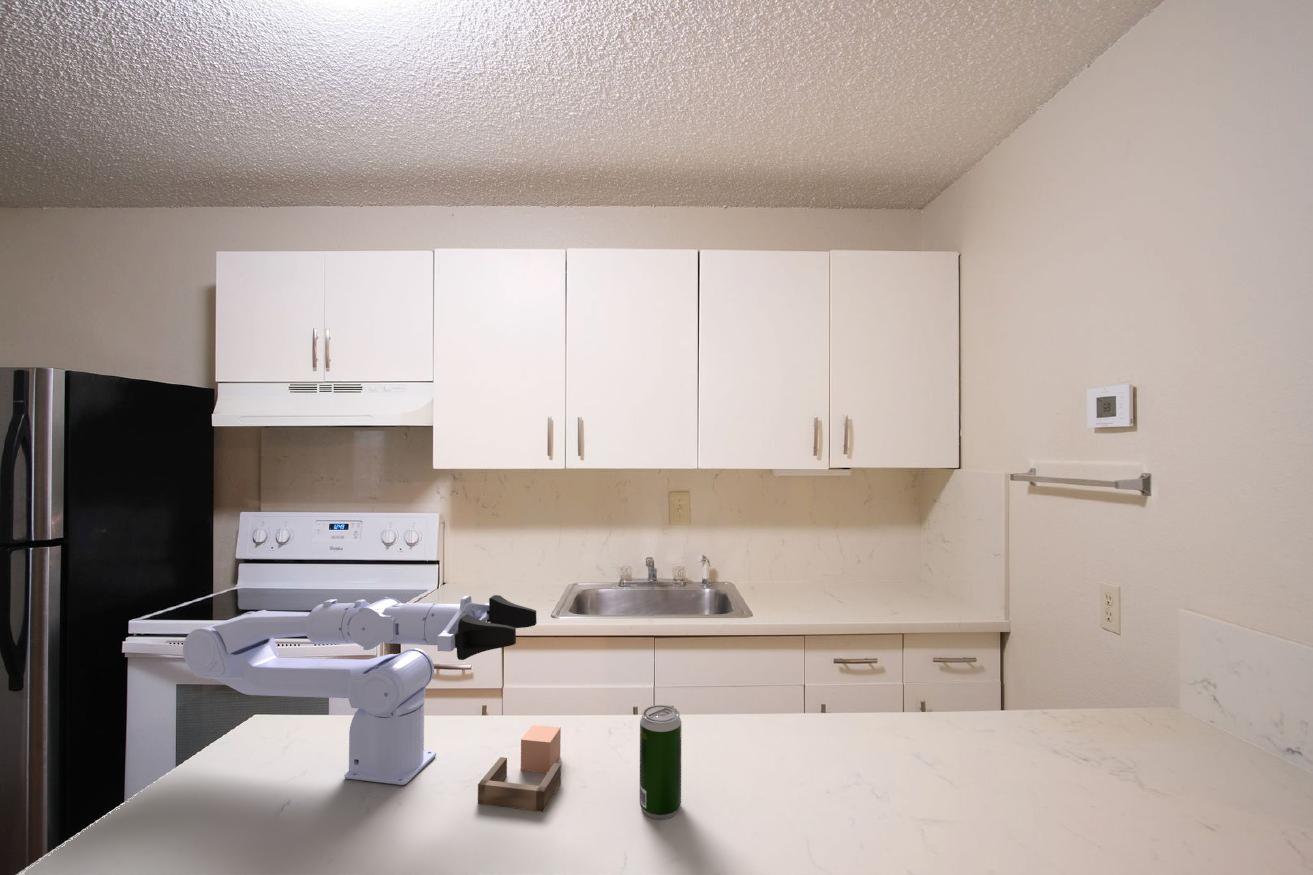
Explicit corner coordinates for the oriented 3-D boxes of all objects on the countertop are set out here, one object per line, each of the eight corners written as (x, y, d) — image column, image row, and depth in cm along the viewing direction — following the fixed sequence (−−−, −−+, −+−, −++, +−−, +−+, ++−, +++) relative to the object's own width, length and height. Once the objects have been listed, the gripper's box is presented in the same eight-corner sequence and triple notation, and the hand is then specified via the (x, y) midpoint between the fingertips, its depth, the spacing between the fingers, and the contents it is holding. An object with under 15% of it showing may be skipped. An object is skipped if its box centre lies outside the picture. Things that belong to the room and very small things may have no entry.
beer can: (654, 826, 69) (654, 727, 69) (631, 803, 73) (632, 710, 73) (689, 811, 72) (689, 716, 72) (665, 789, 76) (666, 700, 76)
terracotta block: (520, 770, 81) (521, 739, 81) (532, 753, 85) (532, 724, 85) (549, 773, 80) (550, 742, 80) (560, 756, 84) (560, 727, 84)
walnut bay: (477, 803, 73) (478, 783, 73) (500, 774, 79) (500, 756, 79) (543, 811, 71) (543, 791, 72) (560, 781, 78) (561, 763, 78)
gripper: (405, 612, 74) (503, 614, 72) (459, 583, 88) (543, 584, 86) (406, 665, 74) (504, 669, 72) (461, 628, 88) (544, 630, 86)
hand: (525, 626), depth 79 cm, fingers open, 7 cm apart
